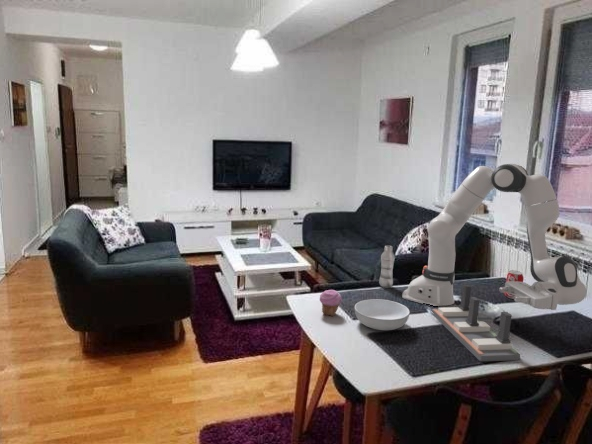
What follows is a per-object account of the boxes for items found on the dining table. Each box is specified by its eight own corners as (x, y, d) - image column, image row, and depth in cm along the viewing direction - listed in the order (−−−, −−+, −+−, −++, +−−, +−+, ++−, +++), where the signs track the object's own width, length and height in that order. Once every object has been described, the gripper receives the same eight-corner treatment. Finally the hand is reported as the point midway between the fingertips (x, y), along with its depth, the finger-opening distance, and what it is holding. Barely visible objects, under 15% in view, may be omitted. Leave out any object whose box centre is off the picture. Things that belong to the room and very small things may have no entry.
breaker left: (462, 310, 185) (465, 287, 183) (458, 306, 189) (460, 283, 187) (470, 310, 186) (473, 287, 184) (465, 306, 190) (468, 283, 188)
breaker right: (501, 343, 158) (505, 316, 156) (495, 337, 162) (498, 311, 160) (510, 342, 159) (514, 315, 157) (504, 337, 163) (507, 311, 160)
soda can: (522, 300, 211) (526, 275, 208) (506, 299, 212) (509, 273, 210) (518, 295, 217) (522, 270, 215) (502, 293, 219) (505, 269, 216)
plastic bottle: (382, 289, 219) (385, 248, 215) (376, 284, 225) (379, 244, 221) (395, 288, 221) (398, 247, 216) (388, 284, 227) (391, 244, 223)
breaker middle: (470, 325, 171) (473, 300, 169) (465, 321, 175) (468, 296, 173) (478, 325, 172) (481, 300, 170) (473, 321, 176) (476, 296, 174)
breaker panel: (480, 361, 154) (481, 350, 153) (431, 313, 193) (432, 304, 192) (519, 360, 156) (521, 349, 155) (463, 312, 195) (464, 303, 194)
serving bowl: (409, 318, 187) (410, 302, 186) (406, 340, 167) (408, 323, 166) (357, 311, 192) (358, 295, 191) (349, 332, 173) (350, 314, 171)
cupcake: (315, 315, 187) (316, 291, 185) (323, 308, 194) (324, 285, 192) (336, 319, 183) (338, 295, 181) (343, 312, 191) (345, 289, 189)
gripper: (526, 276, 184) (493, 277, 182) (561, 294, 164) (524, 295, 162) (524, 292, 185) (491, 293, 183) (558, 311, 165) (522, 313, 163)
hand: (507, 294), depth 172 cm, fingers open, 8 cm apart
